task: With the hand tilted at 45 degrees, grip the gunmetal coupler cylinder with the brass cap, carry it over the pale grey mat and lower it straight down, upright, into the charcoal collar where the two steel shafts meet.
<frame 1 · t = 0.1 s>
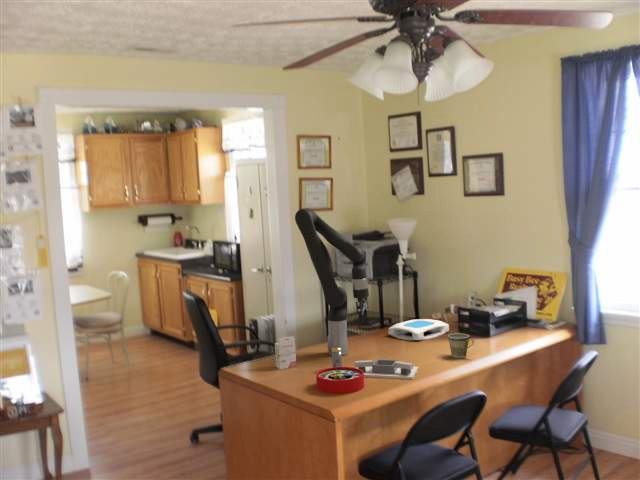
hand: (363, 320, 325), 17 cm above the table, tool pointing down, fingers open, 8 cm apart
ink cartridge box: (286, 367, 310), on the table
shaft rig: (385, 372, 295), on the table
ceramic cup: (461, 357, 316), on the table
toy clock: (340, 387, 277), on the table
document scanner: (419, 335, 365), on the table
coupler: (337, 369, 302), on the table
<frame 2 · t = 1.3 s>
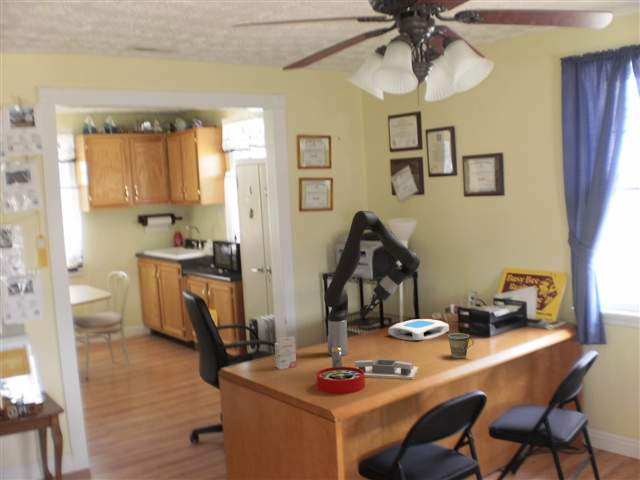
hand: (361, 314, 300), 25 cm above the table, tool tilted 45°, fingers open, 8 cm apart
nothing on the table moved.
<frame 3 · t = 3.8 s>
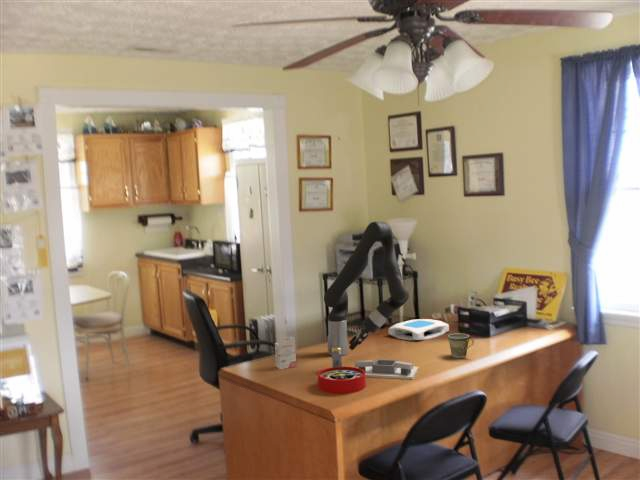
hand: (350, 346, 301), 11 cm above the table, tool tilted 45°, fingers open, 8 cm apart
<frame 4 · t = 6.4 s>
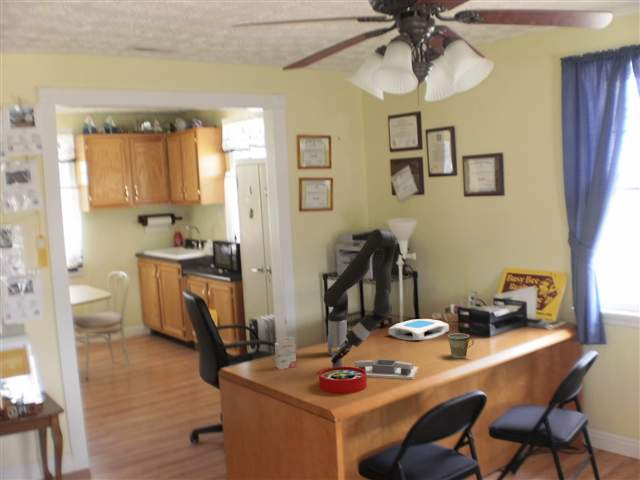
hand: (332, 360, 302), 4 cm above the table, tool tilted 45°, fingers closed on coupler, 4 cm apart
coupler: (337, 369, 302), on the table, touching gripper
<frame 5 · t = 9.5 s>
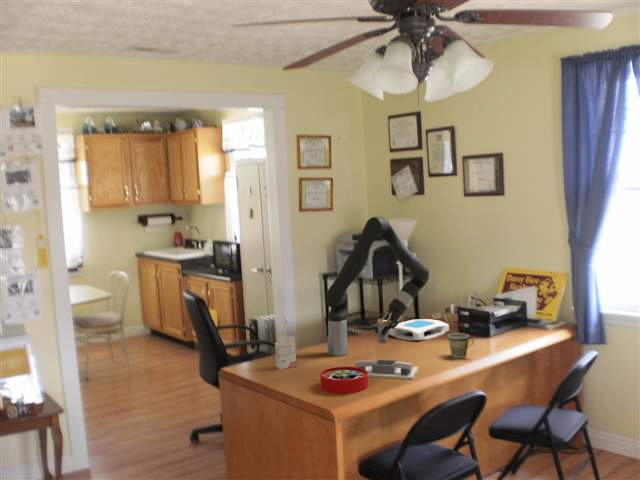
hand: (379, 333, 292), 18 cm above the table, tool tilted 45°, fingers closed on coupler, 4 cm apart
coupler: (383, 341, 293), point 14 cm above the table, touching gripper
when the fingers open (7 cm above the table, at t = 13.1 s): coupler drops 2 cm, resting on shaft rig.
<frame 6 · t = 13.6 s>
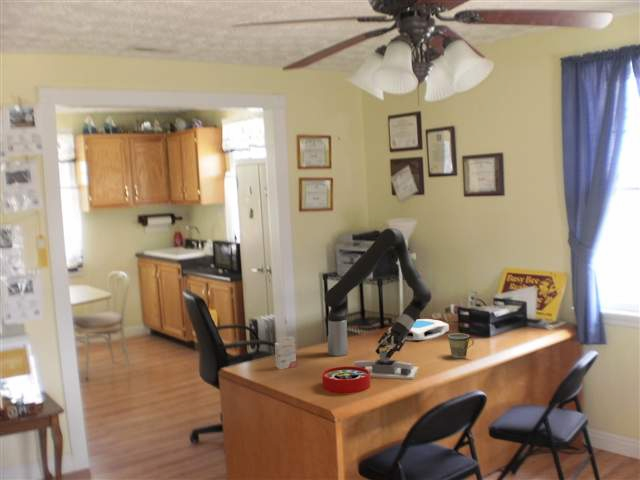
hand: (382, 355, 293), 8 cm above the table, tool tilted 45°, fingers open, 8 cm apart
coupler: (385, 370, 295), point 1 cm above the table, touching shaft rig
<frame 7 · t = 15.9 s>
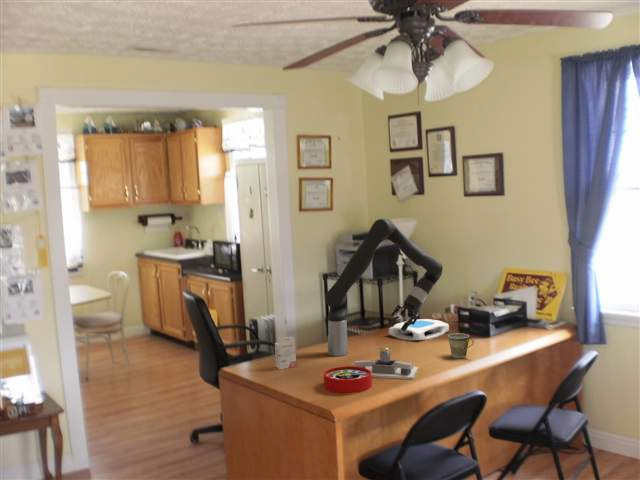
hand: (396, 328, 298), 19 cm above the table, tool tilted 40°, fingers open, 8 cm apart
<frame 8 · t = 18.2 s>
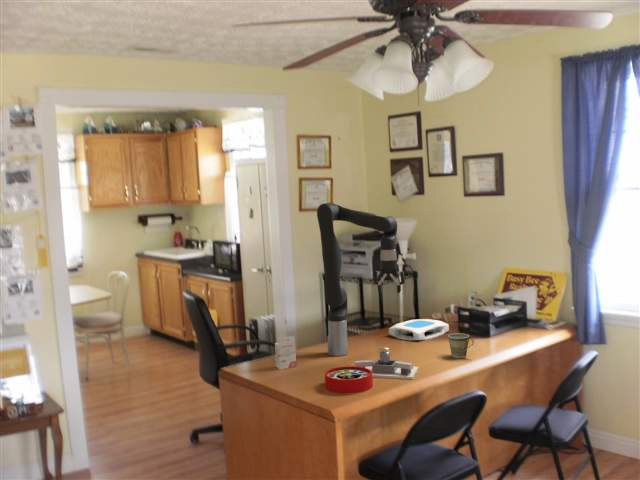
hand: (389, 292, 313), 32 cm above the table, tool pointing down, fingers open, 8 cm apart
at the end: coupler 0.2 cm off-centre on the shaft rig, point 1.1 cm above the shaft rig's base; coupler tilted 2°; the gripper is holding nothing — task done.
